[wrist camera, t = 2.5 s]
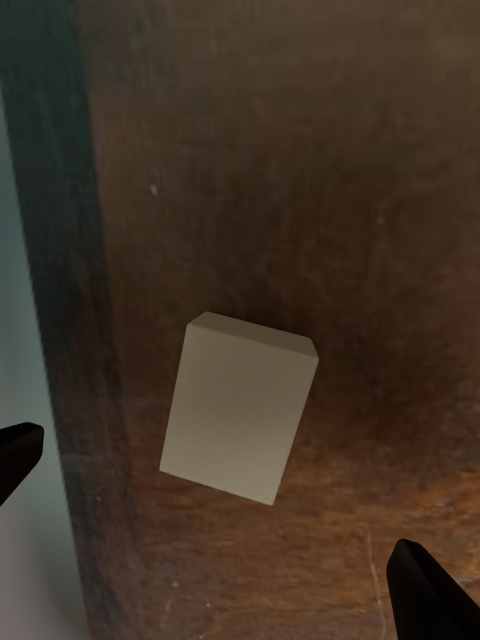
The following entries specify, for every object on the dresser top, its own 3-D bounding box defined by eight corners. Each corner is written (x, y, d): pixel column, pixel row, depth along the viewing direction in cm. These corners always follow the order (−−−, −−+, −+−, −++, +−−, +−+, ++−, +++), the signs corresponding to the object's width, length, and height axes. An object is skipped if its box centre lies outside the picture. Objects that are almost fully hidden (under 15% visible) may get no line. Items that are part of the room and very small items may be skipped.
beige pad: (180, 432, 13) (158, 471, 11) (205, 310, 12) (186, 323, 9) (274, 460, 13) (272, 507, 10) (311, 337, 11) (319, 358, 9)
